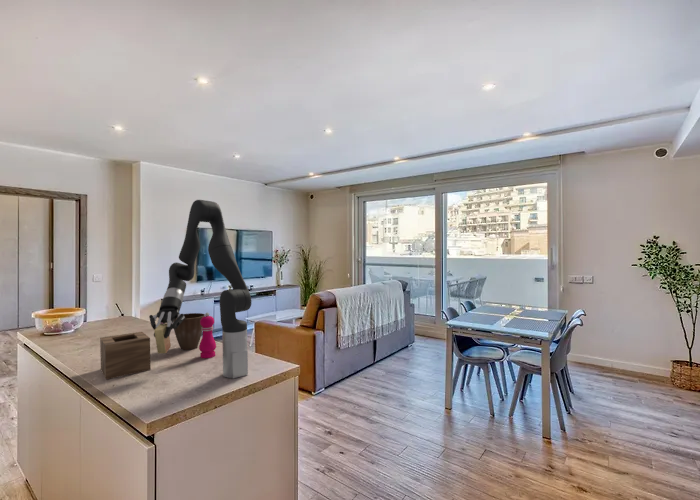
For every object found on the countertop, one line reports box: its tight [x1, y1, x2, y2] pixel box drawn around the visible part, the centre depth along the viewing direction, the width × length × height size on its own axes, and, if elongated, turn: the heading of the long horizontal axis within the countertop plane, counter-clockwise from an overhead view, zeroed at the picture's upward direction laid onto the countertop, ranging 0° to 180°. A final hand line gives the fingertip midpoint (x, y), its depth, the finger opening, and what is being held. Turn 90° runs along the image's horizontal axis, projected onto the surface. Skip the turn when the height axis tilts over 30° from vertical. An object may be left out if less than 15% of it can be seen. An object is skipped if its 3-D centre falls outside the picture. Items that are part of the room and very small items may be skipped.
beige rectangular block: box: [153, 323, 171, 355], centre depth 136 cm, size 5×3×10 cm, turn 7°
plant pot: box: [173, 312, 206, 351], centre depth 172 cm, size 15×15×16 cm
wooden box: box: [99, 331, 152, 380], centre depth 142 cm, size 15×15×13 cm
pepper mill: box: [198, 312, 217, 359], centre depth 158 cm, size 7×7×20 cm
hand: (160, 337), depth 134 cm, fingers closed on beige rectangular block, 2 cm apart
